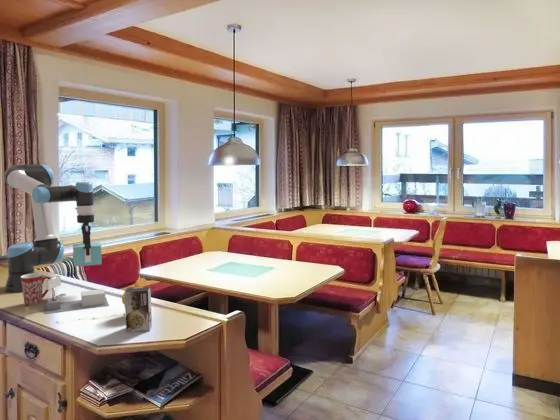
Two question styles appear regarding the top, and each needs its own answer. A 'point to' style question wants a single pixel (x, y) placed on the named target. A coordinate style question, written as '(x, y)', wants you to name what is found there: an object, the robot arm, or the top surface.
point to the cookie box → (138, 309)
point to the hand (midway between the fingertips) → (87, 259)
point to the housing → (78, 302)
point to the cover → (80, 255)
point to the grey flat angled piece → (53, 286)
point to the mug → (33, 288)
